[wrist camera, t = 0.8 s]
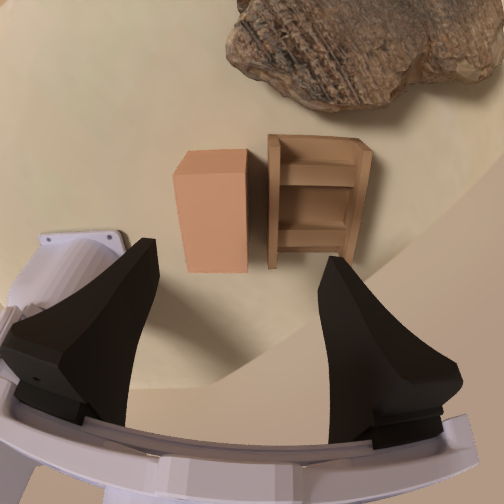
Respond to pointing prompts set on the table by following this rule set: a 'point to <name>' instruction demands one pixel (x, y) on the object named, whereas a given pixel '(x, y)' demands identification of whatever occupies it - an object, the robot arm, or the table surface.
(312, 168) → the rack
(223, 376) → the table surface
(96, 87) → the table surface
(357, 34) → the rough brown rock
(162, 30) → the table surface
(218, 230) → the clay bar
